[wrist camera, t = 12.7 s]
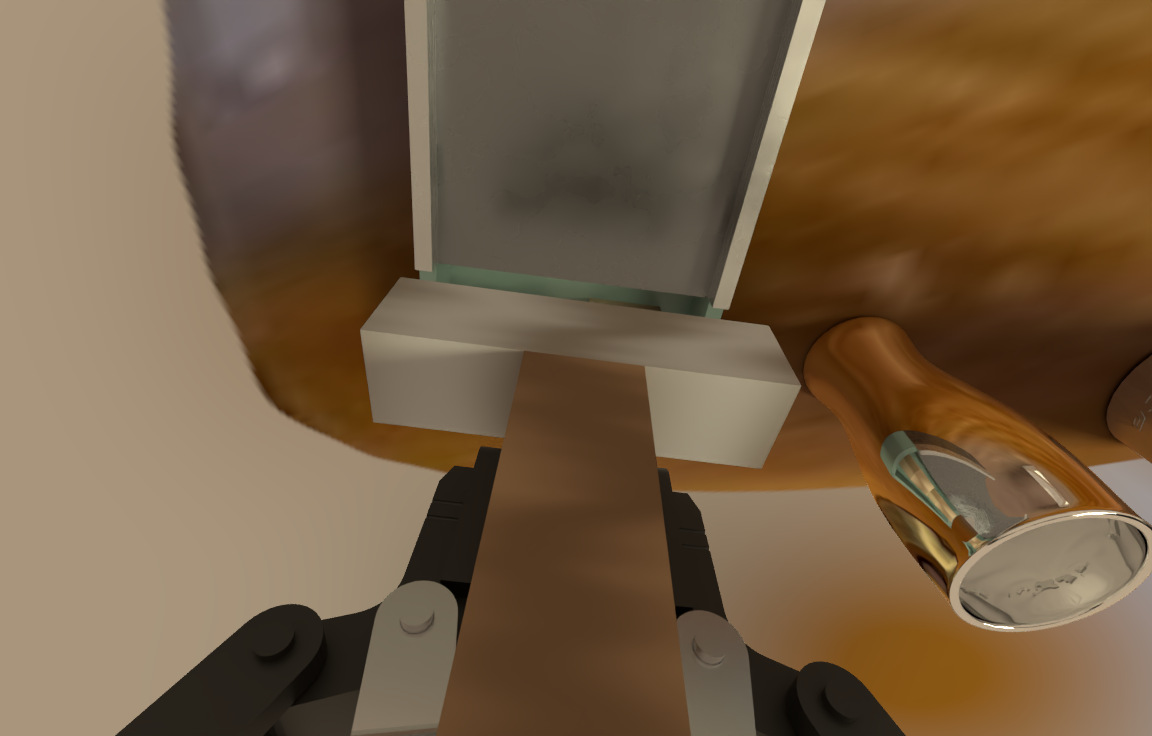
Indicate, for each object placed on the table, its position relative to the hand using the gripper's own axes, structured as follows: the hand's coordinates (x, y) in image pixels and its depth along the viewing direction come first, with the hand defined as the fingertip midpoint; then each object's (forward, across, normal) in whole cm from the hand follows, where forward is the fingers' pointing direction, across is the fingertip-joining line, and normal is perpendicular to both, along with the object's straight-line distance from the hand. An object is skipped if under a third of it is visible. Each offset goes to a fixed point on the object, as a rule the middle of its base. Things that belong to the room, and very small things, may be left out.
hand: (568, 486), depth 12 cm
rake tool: (+5, 0, -1) cm, 5 cm away
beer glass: (+18, -17, +4) cm, 25 cm away
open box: (+18, 0, -7) cm, 19 cm away
